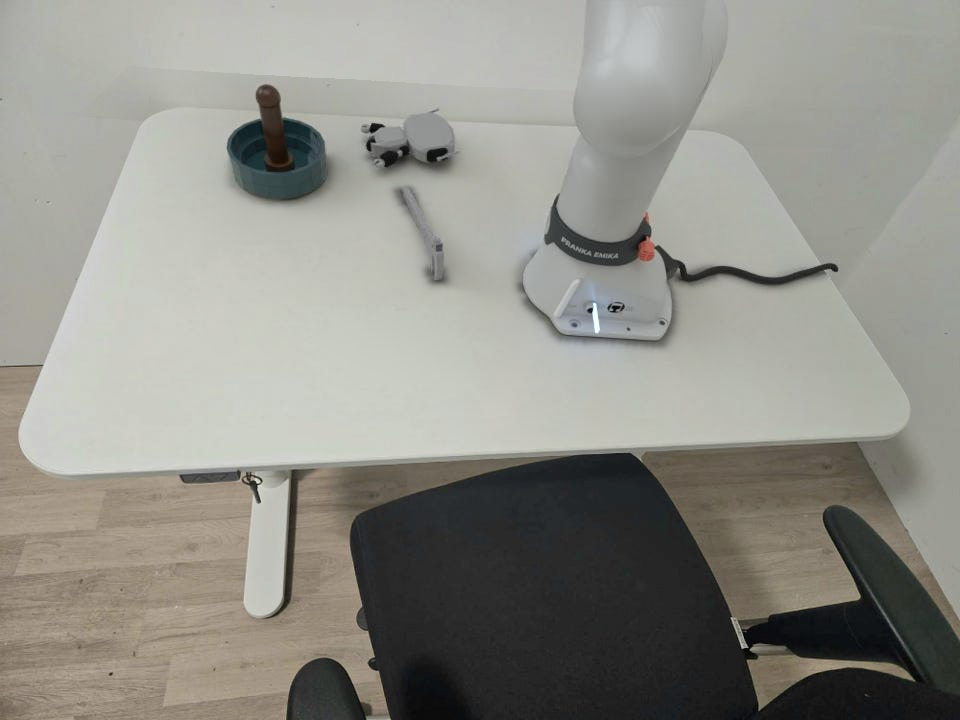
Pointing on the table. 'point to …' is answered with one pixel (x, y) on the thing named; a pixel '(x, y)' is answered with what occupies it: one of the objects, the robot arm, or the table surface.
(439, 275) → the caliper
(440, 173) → the table surface
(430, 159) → the robot toy
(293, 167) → the pestle
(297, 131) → the bowl
